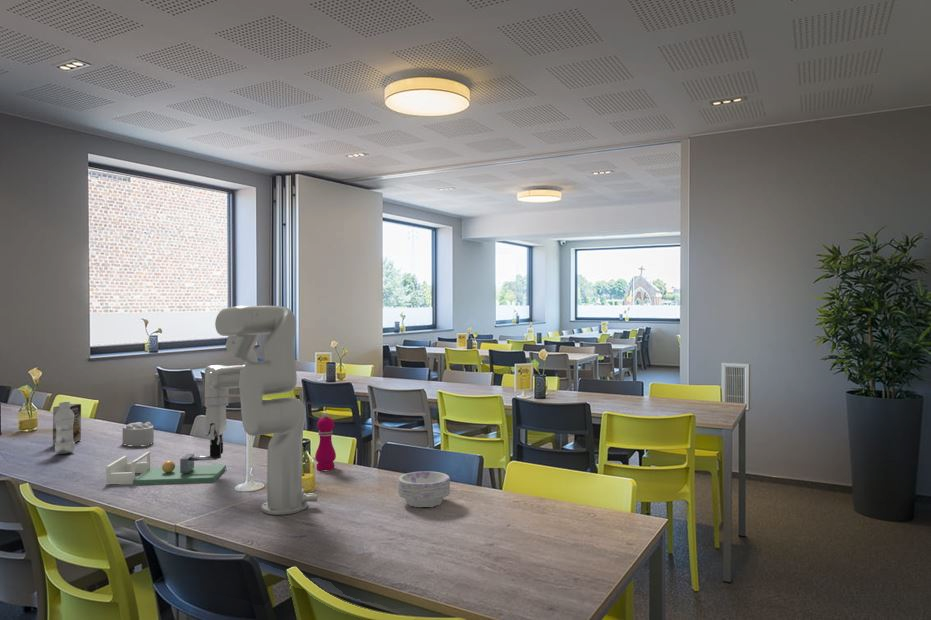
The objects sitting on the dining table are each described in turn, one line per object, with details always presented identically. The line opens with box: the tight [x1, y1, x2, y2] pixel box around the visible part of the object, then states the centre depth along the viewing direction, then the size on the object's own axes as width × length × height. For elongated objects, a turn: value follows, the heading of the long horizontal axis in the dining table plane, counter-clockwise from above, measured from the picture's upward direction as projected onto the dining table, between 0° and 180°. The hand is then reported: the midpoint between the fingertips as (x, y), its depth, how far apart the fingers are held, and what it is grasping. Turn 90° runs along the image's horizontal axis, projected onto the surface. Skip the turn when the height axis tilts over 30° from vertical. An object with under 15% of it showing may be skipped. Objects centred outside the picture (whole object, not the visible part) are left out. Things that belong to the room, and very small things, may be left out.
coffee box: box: [52, 403, 82, 446], centre depth 255 cm, size 9×6×16 cm
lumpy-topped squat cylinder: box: [122, 421, 155, 447], centre depth 255 cm, size 10×13×9 cm
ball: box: [161, 460, 176, 473], centre depth 205 cm, size 4×4×4 cm
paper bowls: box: [397, 470, 451, 508], centre depth 178 cm, size 15×15×8 cm
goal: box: [105, 451, 151, 486], centre depth 203 cm, size 9×14×7 cm, turn 8°
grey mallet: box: [179, 437, 222, 473], centre depth 207 cm, size 12×7×11 cm, turn 98°
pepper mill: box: [314, 412, 337, 472], centre depth 216 cm, size 7×7×20 cm
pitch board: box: [132, 464, 227, 486], centre depth 206 cm, size 25×16×2 cm, turn 98°
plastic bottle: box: [54, 401, 76, 455], centre depth 237 cm, size 6×7×20 cm
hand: (216, 454), depth 207 cm, fingers closed on grey mallet, 2 cm apart
